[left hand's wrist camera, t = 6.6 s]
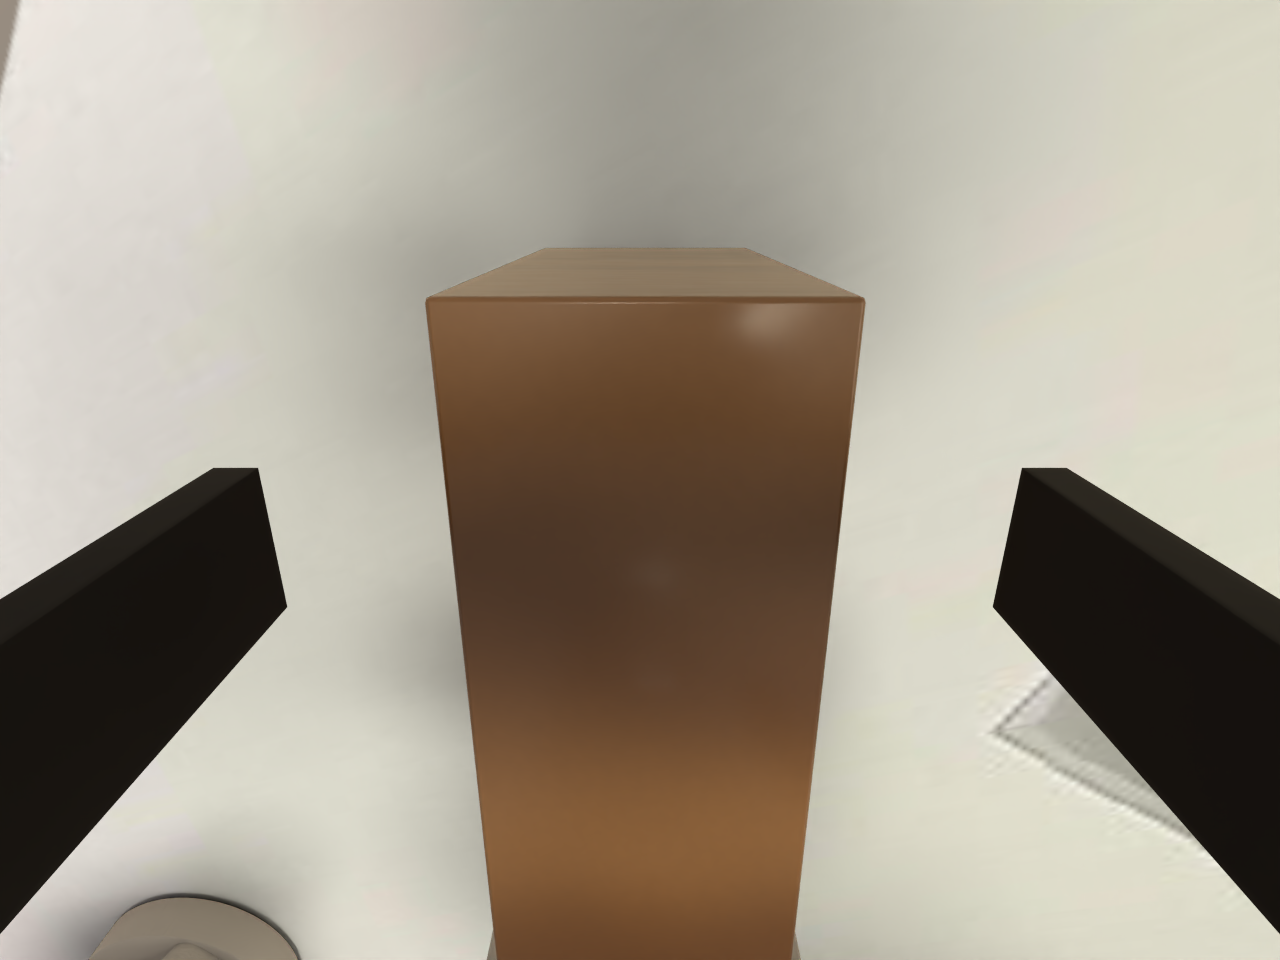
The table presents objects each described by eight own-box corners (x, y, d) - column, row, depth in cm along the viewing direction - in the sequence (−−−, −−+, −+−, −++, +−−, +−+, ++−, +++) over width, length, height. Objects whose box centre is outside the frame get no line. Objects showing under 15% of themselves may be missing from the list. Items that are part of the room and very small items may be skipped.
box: (542, 248, 22) (422, 297, 10) (747, 247, 22) (868, 296, 10) (570, 835, 31) (524, 1227, 19) (717, 836, 31) (762, 1230, 19)
